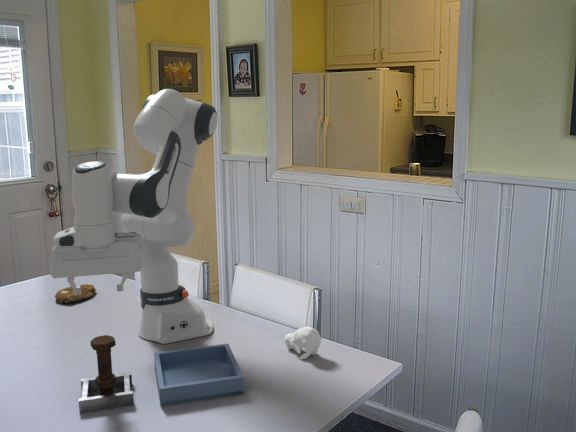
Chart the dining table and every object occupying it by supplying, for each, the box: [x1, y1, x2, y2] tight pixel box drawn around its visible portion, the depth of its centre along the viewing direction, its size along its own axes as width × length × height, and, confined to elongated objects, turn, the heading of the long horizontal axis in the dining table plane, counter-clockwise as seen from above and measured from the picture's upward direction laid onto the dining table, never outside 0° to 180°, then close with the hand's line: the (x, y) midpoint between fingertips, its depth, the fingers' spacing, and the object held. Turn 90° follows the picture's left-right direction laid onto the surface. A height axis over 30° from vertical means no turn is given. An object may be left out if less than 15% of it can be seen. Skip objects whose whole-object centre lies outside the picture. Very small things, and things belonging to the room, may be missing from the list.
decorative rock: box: [54, 283, 98, 304], centre depth 206 cm, size 11×4×15 cm
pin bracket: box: [78, 372, 135, 414], centre depth 138 cm, size 12×11×3 cm
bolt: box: [90, 334, 117, 396], centre depth 136 cm, size 6×5×15 cm
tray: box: [153, 343, 245, 408], centre depth 146 cm, size 20×20×4 cm
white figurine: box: [284, 326, 322, 360], centre depth 161 cm, size 6×8×12 cm
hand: (99, 292), depth 132 cm, fingers open, 8 cm apart
